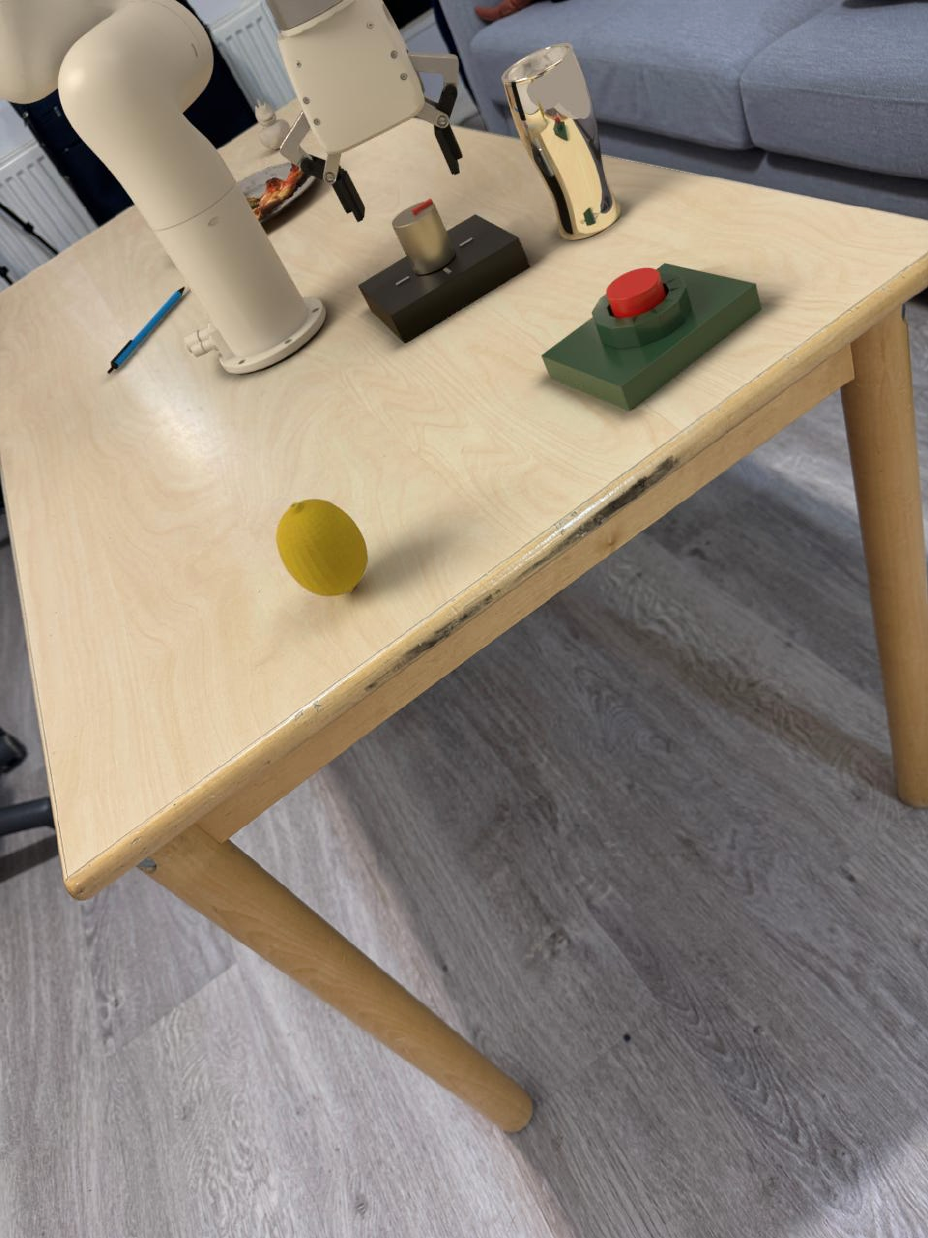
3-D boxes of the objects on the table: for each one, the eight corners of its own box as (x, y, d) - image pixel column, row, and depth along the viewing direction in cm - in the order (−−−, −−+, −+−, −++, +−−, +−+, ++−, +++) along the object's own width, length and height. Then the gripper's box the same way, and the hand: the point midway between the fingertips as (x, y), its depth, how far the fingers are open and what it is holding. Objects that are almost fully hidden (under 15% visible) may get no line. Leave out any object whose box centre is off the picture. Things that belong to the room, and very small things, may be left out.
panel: (404, 343, 92) (389, 314, 90) (371, 310, 101) (356, 283, 99) (530, 266, 93) (518, 235, 91) (486, 240, 101) (474, 211, 99)
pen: (108, 376, 119) (102, 368, 118) (184, 290, 130) (179, 282, 129) (113, 375, 118) (107, 367, 118) (189, 288, 130) (184, 281, 129)
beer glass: (622, 228, 90) (570, 60, 81) (551, 251, 93) (492, 91, 83) (628, 195, 95) (579, 32, 85) (560, 217, 98) (505, 62, 88)
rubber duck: (271, 156, 161) (245, 108, 156) (263, 151, 166) (237, 103, 161) (299, 139, 161) (274, 90, 156) (290, 134, 166) (265, 86, 161)
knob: (422, 279, 93) (398, 227, 89) (408, 267, 96) (384, 217, 93) (462, 255, 93) (439, 203, 90) (446, 244, 96) (423, 193, 93)
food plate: (355, 161, 139) (344, 137, 137) (259, 253, 128) (245, 228, 126) (243, 186, 155) (231, 165, 153) (148, 270, 144) (134, 248, 142)
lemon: (316, 579, 71) (258, 496, 66) (385, 551, 70) (332, 465, 65) (314, 630, 67) (252, 546, 62) (387, 601, 66) (330, 514, 61)
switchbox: (630, 412, 70) (613, 365, 67) (550, 378, 77) (532, 335, 75) (762, 309, 72) (750, 260, 69) (671, 286, 79) (658, 241, 77)
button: (636, 324, 70) (629, 303, 69) (602, 314, 73) (595, 293, 72) (677, 293, 71) (671, 271, 70) (641, 284, 74) (635, 263, 73)
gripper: (410, -66, 80) (492, 138, 91) (229, 35, 84) (327, 218, 95) (411, -51, 74) (497, 164, 85) (217, 56, 79) (323, 248, 89)
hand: (408, 192), depth 90 cm, fingers open, 9 cm apart
